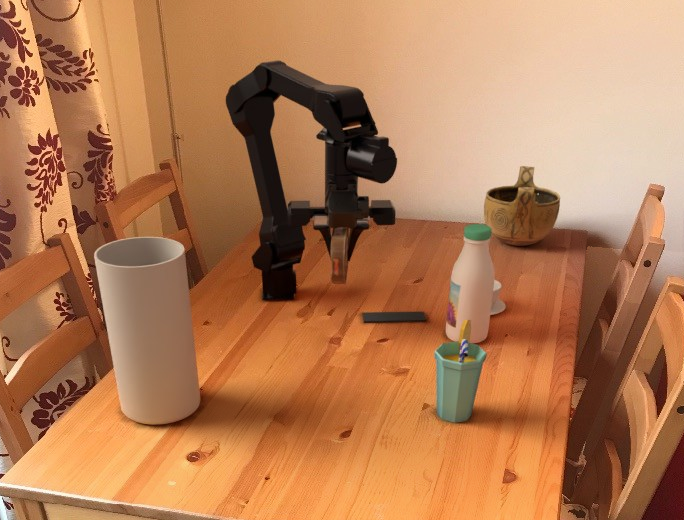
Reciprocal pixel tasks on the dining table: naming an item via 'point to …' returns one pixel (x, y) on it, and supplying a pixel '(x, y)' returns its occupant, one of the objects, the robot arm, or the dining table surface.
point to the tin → (339, 255)
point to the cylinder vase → (149, 327)
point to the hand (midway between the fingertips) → (340, 260)
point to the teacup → (496, 303)
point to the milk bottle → (471, 285)
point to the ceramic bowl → (521, 210)
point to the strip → (393, 317)
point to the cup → (458, 376)
